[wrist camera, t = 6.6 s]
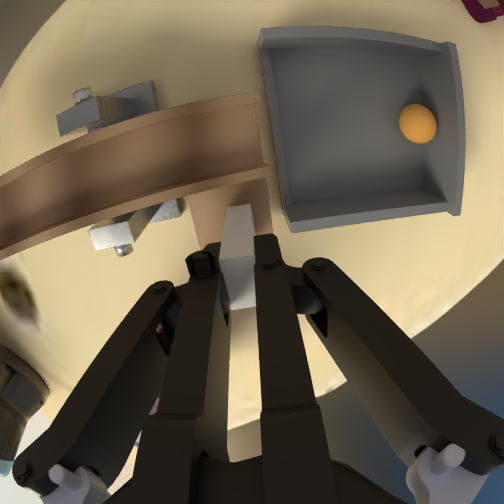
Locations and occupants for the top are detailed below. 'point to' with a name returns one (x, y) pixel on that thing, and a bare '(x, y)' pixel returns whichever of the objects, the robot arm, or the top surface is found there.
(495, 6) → the book
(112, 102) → the fulcrum
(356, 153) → the tray
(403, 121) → the ball
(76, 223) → the lever
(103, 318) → the top surface
